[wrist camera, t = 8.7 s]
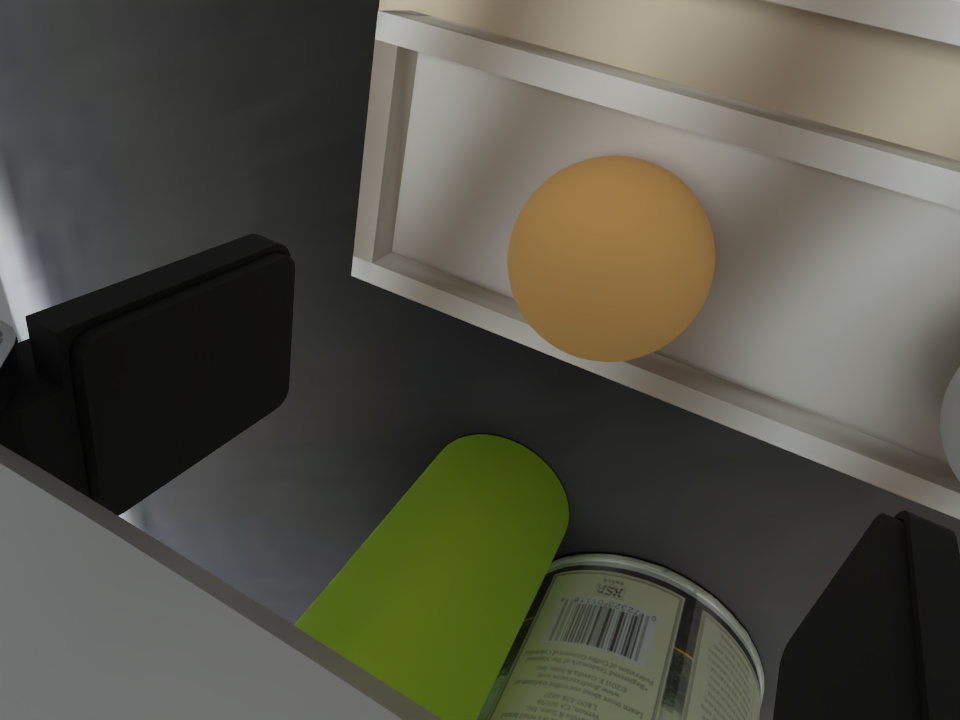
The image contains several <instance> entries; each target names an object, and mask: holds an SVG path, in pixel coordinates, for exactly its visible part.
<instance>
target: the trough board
mask: <svg viewBox="0 0 960 720" xmlns="http://www.w3.org/2000/svg"><path fill="white" fill-rule="evenodd" d="M601 156H625V157H634V158H638V159H642V160H646V161H648V162H651V163H654V164H656V165H659V166H660V167H662V168H664V169H666V170H668V171H669V172H671V173H672V174H674V175H675V176H676V177H678V178H679V179H680V180H681V181H682V182H683V183H684V184H685V185H686V186H687V187H688V188H690V190H691V191H692V192H693V193H694V195H695V196H696V197H697V199H698V200H699V202H700V203H701V205H702V207H703V209H704V210H705V212H706V215H707V217H708V220H709V222H710V225H711V229H712V233H713V237H714V244H715V269H714V275H713V280H712V284H711V287H710V290H709V293H708V296H707V298H706V300H705V302H704V304H703V306H702V308H701V310H700V311H699V312H698V314H697V315H696V317H695V318H694V320H693V321H692V322H691V324H690V325H689V326H688V327H687V328H686V329H685V330H684V331H683V332H682V333H681V334H680V335H679V336H677V337H676V338H675V339H674V340H673V341H671V342H670V343H668V344H667V345H665V346H664V347H662V348H660V349H659V350H657V351H655V352H652V353H650V354H648V355H645V356H642V357H638V358H635V359H631V360H626V361H620V362H601V361H591V360H586V359H582V358H578V357H575V356H572V355H570V354H567V353H565V352H563V351H561V350H559V349H558V348H556V347H554V346H553V345H551V344H550V343H548V342H547V341H546V340H545V339H543V338H542V337H541V336H540V335H539V334H538V333H537V332H536V331H535V330H534V329H533V328H532V327H531V326H530V324H529V323H528V322H527V321H526V319H525V318H524V316H523V315H522V313H521V311H520V310H519V308H518V305H517V303H516V301H515V299H514V296H513V293H512V290H511V285H510V281H509V276H508V265H507V261H508V248H509V242H510V237H511V234H512V230H513V227H514V224H515V222H516V220H517V217H518V215H519V213H520V211H521V210H522V208H523V207H524V205H525V204H526V202H527V200H528V199H529V198H530V196H531V195H532V194H533V193H534V192H535V190H536V189H537V188H538V187H539V186H541V185H542V184H543V183H544V182H545V181H546V180H547V179H549V178H550V177H551V176H553V175H554V174H556V173H557V172H559V171H560V170H562V169H564V168H566V167H568V166H570V165H572V164H574V163H577V162H580V161H583V160H586V159H590V158H595V157H601ZM351 276H353V277H356V278H358V279H361V280H363V281H366V282H368V283H371V284H373V285H376V286H378V287H381V288H383V289H386V290H388V291H391V292H393V293H396V294H398V295H401V296H403V297H406V298H408V299H411V300H413V301H416V302H418V303H421V304H423V305H426V306H428V307H431V308H433V309H436V310H438V311H441V312H443V313H446V314H448V315H451V316H453V317H456V318H458V319H461V320H463V321H466V322H468V323H471V324H473V325H476V326H478V327H481V328H483V329H486V330H488V331H491V332H493V333H496V334H498V335H501V336H503V337H506V338H508V339H511V340H513V341H516V342H518V343H521V344H523V345H526V346H528V347H530V348H533V349H535V350H538V351H540V352H543V353H545V354H548V355H550V356H553V357H555V358H558V359H560V360H563V361H565V362H568V363H570V364H573V365H575V366H578V367H580V368H583V369H585V370H588V371H590V372H593V373H595V374H598V375H600V376H603V377H605V378H608V379H610V380H613V381H615V382H618V383H620V384H623V385H625V386H628V387H630V388H633V389H635V390H638V391H640V392H643V393H645V394H648V395H650V396H653V397H655V398H658V399H660V400H663V401H665V402H668V403H670V404H673V405H675V406H678V407H680V408H683V409H685V410H688V411H690V412H693V413H695V414H698V415H700V416H703V417H705V418H708V419H710V420H713V421H715V422H718V423H720V424H723V425H725V426H728V427H730V428H733V429H735V430H738V431H740V432H743V433H745V434H748V435H750V436H753V437H755V438H758V439H760V440H763V441H765V442H768V443H770V444H773V445H775V446H778V447H780V448H783V449H785V450H788V451H790V452H793V453H795V454H797V455H800V456H802V457H805V458H807V459H810V460H812V461H815V462H817V463H820V464H822V465H825V466H827V467H830V468H832V469H835V470H837V471H840V472H842V473H845V474H847V475H850V476H852V477H855V478H857V479H860V480H862V481H865V482H867V483H870V484H872V485H875V486H877V487H880V488H882V489H885V490H887V491H890V492H892V493H895V494H897V495H900V496H902V497H905V498H907V499H910V500H912V501H915V502H917V503H920V504H922V505H925V506H927V507H930V508H932V509H935V510H937V511H940V512H942V513H945V514H947V515H950V516H952V517H955V518H957V519H960V482H959V480H958V479H957V478H956V476H955V474H954V472H953V470H952V469H951V467H950V464H949V462H948V460H947V457H946V454H945V451H944V448H943V444H942V438H941V430H940V414H941V409H942V404H943V400H944V395H945V393H946V390H947V388H948V385H949V383H950V381H951V380H952V378H953V376H954V374H955V373H956V371H957V370H958V368H959V367H960V0H380V3H379V11H378V16H377V26H376V35H375V45H374V55H373V65H372V75H371V85H370V95H369V105H368V115H367V125H366V135H365V144H364V154H363V164H362V174H361V184H360V194H359V204H358V214H357V224H356V234H355V243H354V253H353V263H352V273H351Z"/></svg>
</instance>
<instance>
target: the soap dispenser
mask: <svg viewBox="0 0 960 720" xmlns="http://www.w3.org/2000/svg"><path fill="white" fill-rule="evenodd" d="M568 523H569V506H568V501H567V497H566V494H565V491H564V489H563V487H562V485H561V483H560V481H559V479H558V478H557V476H556V475H555V473H554V472H553V471H552V470H551V468H550V467H549V466H548V465H547V464H546V463H545V462H544V461H543V460H542V459H541V458H540V457H538V456H537V455H536V454H535V453H533V452H532V451H530V450H529V449H527V448H526V447H524V446H522V445H520V444H518V443H516V442H514V441H511V440H509V439H506V438H503V437H499V436H494V435H485V434H478V435H469V436H465V437H462V438H459V439H457V440H455V441H453V442H451V443H450V444H448V445H447V446H446V447H445V448H444V449H443V450H442V451H441V452H440V453H439V455H438V456H437V457H436V458H435V459H434V460H433V462H432V463H431V464H430V465H429V466H428V468H427V469H426V470H425V471H424V472H423V473H422V475H421V476H420V477H419V478H418V479H417V480H416V482H415V483H414V484H413V485H412V486H411V488H410V489H409V490H408V491H407V492H406V493H405V495H404V496H403V497H402V498H401V499H400V501H399V502H398V503H397V504H396V505H395V506H394V508H393V509H392V510H391V511H390V512H389V514H388V515H387V516H386V517H385V518H384V519H383V521H382V522H381V523H380V524H379V525H378V527H377V528H376V529H375V530H374V531H373V532H372V534H371V535H370V536H369V537H368V538H367V540H366V541H365V542H364V543H363V544H362V545H361V547H360V548H359V549H358V550H357V551H356V552H355V554H354V555H353V556H352V557H351V558H350V560H349V561H348V562H347V563H346V564H345V565H344V567H343V568H342V569H341V570H340V571H339V573H338V574H337V575H336V576H335V577H334V578H333V580H332V581H331V582H330V583H329V584H328V586H327V587H326V588H325V589H324V590H323V591H322V593H321V594H320V595H319V596H318V597H317V599H316V600H315V601H314V602H313V603H312V604H311V606H310V607H309V608H308V609H307V610H306V611H305V613H304V614H303V615H302V616H301V617H300V619H299V620H298V621H297V622H296V623H295V624H294V626H295V627H297V628H298V629H300V630H302V631H303V632H305V633H306V634H308V635H309V636H311V637H313V638H314V639H316V640H317V641H319V642H321V643H322V644H324V645H325V646H327V647H329V648H330V649H332V650H333V651H335V652H337V653H338V654H340V655H341V656H343V657H345V658H346V659H348V660H349V661H351V662H352V663H354V664H356V665H357V666H359V667H360V668H362V669H364V670H365V671H367V672H368V673H370V674H372V675H373V676H375V677H376V678H378V679H379V680H381V681H383V682H384V683H386V684H387V685H389V686H390V687H392V688H394V689H395V690H397V691H398V692H400V693H401V694H403V695H405V696H406V697H408V698H409V699H411V700H413V701H414V702H416V703H417V704H419V705H420V706H422V707H424V708H425V709H427V710H428V711H430V712H431V713H433V714H435V715H436V716H438V717H439V718H441V719H442V720H477V718H478V716H479V714H480V712H481V709H482V707H483V705H484V703H485V701H486V699H487V697H488V695H489V693H490V691H491V688H492V686H493V684H494V682H495V680H496V678H497V676H498V674H499V672H500V670H501V667H502V665H503V663H504V661H505V659H506V657H507V655H508V653H509V651H510V649H511V646H512V644H513V642H514V640H515V638H516V636H517V634H518V632H519V630H520V628H521V625H522V623H523V621H524V619H525V617H526V615H527V613H528V611H529V609H530V607H531V604H532V602H533V600H534V598H535V596H536V594H537V592H538V590H539V588H540V586H541V583H542V581H543V579H544V577H545V575H546V573H547V571H548V569H549V567H550V565H551V562H552V560H553V558H554V556H555V554H556V552H557V550H558V548H559V546H560V543H561V541H562V539H563V537H564V535H565V533H566V530H567V527H568Z"/></svg>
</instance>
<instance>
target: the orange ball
mask: <svg viewBox="0 0 960 720" xmlns="http://www.w3.org/2000/svg"><path fill="white" fill-rule="evenodd" d="M507 265H508V276H509V281H510V285H511V290H512V293H513V296H514V299H515V301H516V303H517V305H518V308H519V310H520V311H521V313H522V315H523V316H524V318H525V319H526V321H527V322H528V323H529V324H530V326H531V327H532V328H533V329H534V330H535V331H536V332H537V333H538V334H539V335H540V336H541V337H542V338H543V339H545V340H546V341H547V342H548V343H550V344H551V345H553V346H554V347H556V348H558V349H559V350H561V351H563V352H565V353H567V354H570V355H572V356H575V357H578V358H582V359H586V360H591V361H601V362H620V361H626V360H631V359H635V358H638V357H642V356H645V355H648V354H650V353H652V352H655V351H657V350H659V349H660V348H662V347H664V346H665V345H667V344H668V343H670V342H671V341H673V340H674V339H675V338H676V337H677V336H679V335H680V334H681V333H682V332H683V331H684V330H685V329H686V328H687V327H688V326H689V325H690V324H691V322H692V321H693V320H694V318H695V317H696V315H697V314H698V312H699V311H700V310H701V308H702V306H703V304H704V302H705V300H706V298H707V296H708V293H709V290H710V287H711V284H712V280H713V275H714V269H715V244H714V237H713V233H712V229H711V225H710V222H709V220H708V217H707V215H706V212H705V210H704V209H703V207H702V205H701V203H700V202H699V200H698V199H697V197H696V196H695V195H694V193H693V192H692V191H691V190H690V188H688V187H687V186H686V185H685V184H684V183H683V182H682V181H681V180H680V179H679V178H678V177H676V176H675V175H674V174H672V173H671V172H669V171H668V170H666V169H664V168H662V167H660V166H659V165H656V164H654V163H651V162H648V161H646V160H642V159H638V158H634V157H625V156H601V157H595V158H590V159H586V160H583V161H580V162H577V163H574V164H572V165H570V166H568V167H566V168H564V169H562V170H560V171H559V172H557V173H556V174H554V175H553V176H551V177H550V178H549V179H547V180H546V181H545V182H544V183H543V184H542V185H541V186H539V187H538V188H537V189H536V190H535V192H534V193H533V194H532V195H531V196H530V198H529V199H528V200H527V202H526V204H525V205H524V207H523V208H522V210H521V211H520V213H519V215H518V217H517V220H516V222H515V224H514V227H513V230H512V234H511V237H510V242H509V248H508V261H507Z"/></svg>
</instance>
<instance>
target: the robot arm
mask: <svg viewBox="0 0 960 720" xmlns="http://www.w3.org/2000/svg"><path fill="white" fill-rule="evenodd" d="M294 281H295V263H294V261H293V260H292V259H291V258H290V253H289V251H288V249H287V248H286V247H285V246H284V245H281V244H279V243H277V242H274V241H272V240H270V239H267V238H265V237H263V236H260V235H257V234H250V235H247V236H244V237H242V238H239V239H236V240H233V241H231V242H228V243H225V244H222V245H220V246H217V247H214V248H211V249H209V250H206V251H203V252H200V253H198V254H195V255H192V256H190V257H187V258H184V259H181V260H179V261H176V262H173V263H170V264H168V265H165V266H162V267H159V268H157V269H154V270H151V271H148V272H146V273H143V274H140V275H137V276H135V277H132V278H129V279H127V280H124V281H121V282H118V283H116V284H113V285H110V286H107V287H105V288H102V289H99V290H96V291H94V292H91V293H88V294H85V295H83V296H80V297H77V298H75V299H72V300H69V301H66V302H64V303H61V304H58V305H55V306H53V307H50V308H47V309H44V310H42V311H39V312H36V313H33V314H31V315H28V316H26V322H27V327H28V332H29V338H30V339H27V340H25V341H22V342H20V343H18V340H17V336H16V333H15V331H14V329H13V327H12V326H10V325H9V324H7V323H6V322H4V321H2V320H0V720H442V719H441V718H439V717H438V716H436V715H435V714H433V713H431V712H430V711H428V710H427V709H425V708H424V707H422V706H420V705H419V704H417V703H416V702H414V701H413V700H411V699H409V698H408V697H406V696H405V695H403V694H401V693H400V692H398V691H397V690H395V689H394V688H392V687H390V686H389V685H387V684H386V683H384V682H383V681H381V680H379V679H378V678H376V677H375V676H373V675H372V674H370V673H368V672H367V671H365V670H364V669H362V668H360V667H359V666H357V665H356V664H354V663H352V662H351V661H349V660H348V659H346V658H345V657H343V656H341V655H340V654H338V653H337V652H335V651H333V650H332V649H330V648H329V647H327V646H325V645H324V644H322V643H321V642H319V641H317V640H316V639H314V638H313V637H311V636H309V635H308V634H306V633H305V632H303V631H302V630H300V629H298V628H297V627H295V626H294V625H292V624H290V623H289V622H287V621H286V620H284V619H282V618H281V617H279V616H278V615H276V614H274V613H273V612H271V611H270V610H268V609H266V608H265V607H263V606H262V605H260V604H259V603H257V602H255V601H254V600H252V599H251V598H249V597H247V596H246V595H244V594H243V593H241V592H239V591H238V590H236V589H235V588H233V587H231V586H230V585H228V584H227V583H225V582H223V581H222V580H220V579H219V578H217V577H215V576H214V575H212V574H211V573H209V572H207V571H206V570H204V569H203V568H201V567H199V566H198V565H196V564H195V563H193V562H191V561H190V560H188V559H187V558H185V557H183V556H182V555H180V554H179V553H177V552H175V551H174V550H172V549H171V548H169V547H167V546H166V545H164V544H163V543H161V542H159V541H158V540H156V539H154V538H153V537H151V536H150V535H148V534H146V533H145V532H143V531H141V530H140V529H138V528H137V527H135V526H133V525H132V524H130V523H129V522H127V521H125V520H124V519H122V518H120V517H119V516H118V515H120V514H122V513H124V512H125V511H127V510H128V509H130V508H131V507H133V506H134V505H136V504H137V503H139V502H140V501H142V500H143V499H145V498H146V497H147V496H149V495H150V494H152V493H153V492H155V491H156V490H158V489H159V488H161V487H162V486H164V485H165V484H167V483H168V482H170V481H171V480H172V479H174V478H175V477H177V476H178V475H180V474H181V473H183V472H184V471H186V470H187V469H189V468H190V467H192V466H193V465H194V464H196V463H197V462H199V461H200V460H202V459H203V458H205V457H206V456H208V455H209V454H211V453H212V452H214V451H215V450H217V449H218V448H219V447H221V446H222V445H224V444H225V443H227V442H228V441H230V440H231V439H233V438H234V437H236V436H237V435H239V434H240V433H242V432H243V431H244V430H246V429H247V428H249V427H250V426H252V425H253V424H255V423H256V422H258V421H259V420H261V419H262V418H264V417H265V416H266V415H268V414H269V413H271V412H272V411H274V410H275V409H277V408H278V407H279V406H280V405H281V404H282V403H283V402H284V400H285V398H286V396H287V394H288V390H289V376H290V357H291V338H292V319H293V300H294ZM773 720H960V555H959V549H958V544H957V539H956V536H955V533H954V532H953V531H952V530H950V529H947V528H945V527H943V526H940V525H938V524H936V523H933V522H931V521H929V520H926V519H924V518H922V517H919V516H917V515H915V514H912V513H910V512H908V511H901V512H899V513H898V514H897V515H896V516H895V517H894V518H893V517H891V516H888V515H886V514H884V513H882V514H880V515H878V516H877V517H876V518H875V519H874V521H873V522H872V523H871V525H870V526H869V528H868V529H867V531H866V532H865V533H864V535H863V536H862V538H861V539H860V541H859V542H858V543H857V545H856V546H855V548H854V549H853V550H852V552H851V553H850V555H849V556H848V558H847V559H846V560H845V562H844V563H843V565H842V566H841V568H840V569H839V570H838V572H837V573H836V575H835V576H834V577H833V579H832V580H831V582H830V583H829V585H828V586H827V587H826V589H825V590H824V592H823V593H822V595H821V596H820V597H819V599H818V600H817V602H816V603H815V604H814V606H813V607H812V609H811V610H810V612H809V613H808V614H807V616H806V617H805V619H804V620H803V622H802V623H801V624H800V626H799V627H798V629H797V630H796V632H795V633H794V634H793V636H792V637H791V639H790V640H789V642H788V644H787V646H786V648H785V650H784V653H783V655H782V659H781V662H780V667H779V676H778V684H777V692H776V700H775V708H774V716H773Z"/></svg>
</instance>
